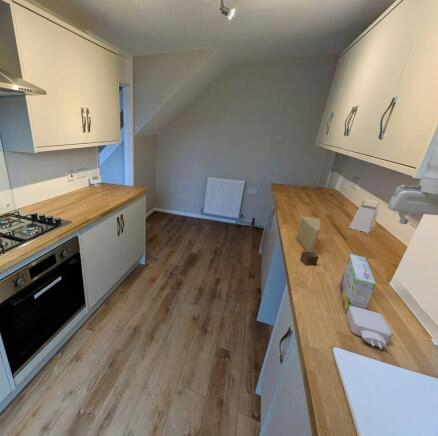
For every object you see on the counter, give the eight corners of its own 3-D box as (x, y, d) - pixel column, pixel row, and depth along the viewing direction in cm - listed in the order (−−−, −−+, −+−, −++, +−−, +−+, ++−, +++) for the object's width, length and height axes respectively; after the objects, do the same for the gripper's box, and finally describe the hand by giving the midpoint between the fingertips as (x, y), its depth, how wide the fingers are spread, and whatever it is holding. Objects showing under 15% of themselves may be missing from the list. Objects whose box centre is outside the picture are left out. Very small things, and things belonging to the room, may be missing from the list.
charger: (354, 346, 73) (345, 315, 85) (395, 360, 68) (379, 325, 81) (359, 334, 71) (349, 304, 83) (401, 348, 67) (384, 314, 79)
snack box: (338, 283, 103) (349, 253, 97) (354, 288, 100) (367, 257, 94) (343, 313, 86) (356, 278, 81) (363, 319, 83) (378, 284, 78)
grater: (354, 225, 167) (364, 198, 160) (373, 230, 159) (384, 201, 152) (348, 228, 162) (358, 200, 155) (367, 233, 154) (378, 204, 147)
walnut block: (309, 260, 121) (312, 251, 119) (316, 265, 116) (318, 256, 114) (299, 260, 121) (302, 251, 119) (305, 265, 116) (308, 256, 114)
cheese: (321, 257, 123) (329, 231, 118) (299, 253, 127) (306, 228, 122) (314, 241, 142) (321, 217, 137) (295, 237, 146) (301, 215, 141)
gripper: (402, 186, 80) (387, 224, 84) (488, 192, 73) (466, 233, 78) (392, 182, 85) (378, 218, 90) (471, 188, 78) (451, 226, 83)
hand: (419, 225), depth 84 cm, fingers open, 8 cm apart
